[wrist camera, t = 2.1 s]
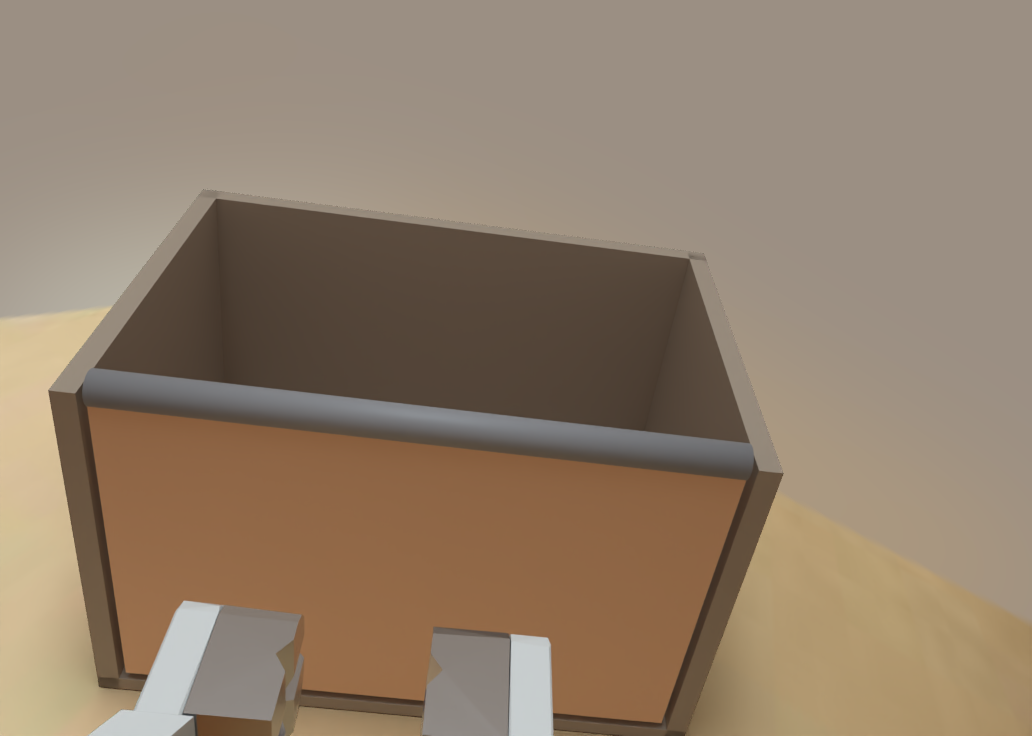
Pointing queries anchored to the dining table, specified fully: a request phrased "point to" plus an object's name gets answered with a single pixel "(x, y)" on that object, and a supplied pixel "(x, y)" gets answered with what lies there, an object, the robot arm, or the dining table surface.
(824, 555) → the dining table surface
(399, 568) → the flap
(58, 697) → the dining table surface
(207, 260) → the open carton
